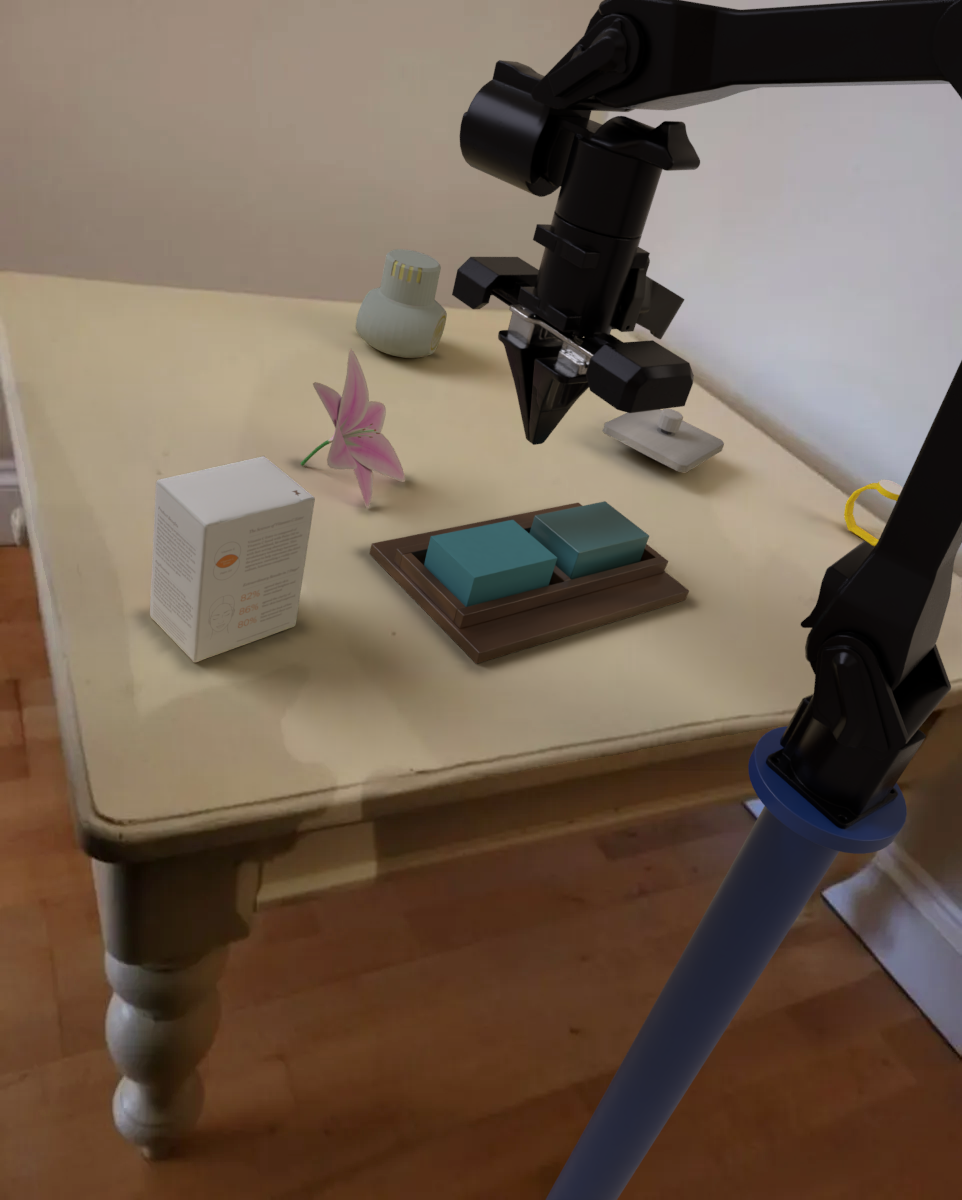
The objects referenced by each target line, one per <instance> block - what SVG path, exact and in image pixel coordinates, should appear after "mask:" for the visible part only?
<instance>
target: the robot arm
mask: <svg viewBox="0 0 962 1200" xmlns="http://www.w3.org/2000/svg"><path fill="white" fill-rule="evenodd" d="M902 85H903V86H906V85H908V86H909V85H913V86H914V85H950V86H951V87H952V89H954V91H955V92H956V93H957V95H958V96H959V97H960V99H961V100H962V0H866V1H865V0H864V1H863V0H862V1H849V2H835V3H819V4H806V5H795V6H794V5H791V6H775V7H761V8H760V7H759V8H747V9H738V8H731V7H725V6H720V5H712V4H707V3H701V2H696V1H695V2H694V1H688V0H602V1H601V2H600V3H599V6H598V9H597V10H596V12H595V13H594V14H593V16H592V17H591V18H590V19H589V22H588V25H587V26H586V30H585V32H584V34H583V36H582V37H581V38H580V39H579V40H578V41H577V42H576V43H575V44H574V45H573V46H572V47H571V48H570V49H569V50H568V51H567V52H566V54H564V55H563V57H562V58H561V59H560V60H559V61H558V62H557V63H556V64H555V65H554V66H553V67H552V68H550V70H549V71H548V72H546V74H545V75H543V74H540V73H538V72H537V71H536V70H534V69H533V67H530V66H529V65H526V64H524V63H521V62H518V61H514V60H513V61H512V60H503V59H502V60H501V59H498V60H497V61H496V62H495V65H494V71H493V76H492V79H491V80H489V81H487V82H486V83H485V84H483V85H482V86H481V88H480V89H479V90H478V91H477V92H476V93H475V95H474V96H473V98H472V100H471V102H470V104H469V106H468V108H467V111H464V113H463V115H462V117H461V122H460V127H459V148H460V151H461V154H462V158H463V160H464V161H465V163H467V165H469V166H470V167H471V168H473V169H476V170H477V171H480V172H482V173H484V174H487V175H489V176H490V177H493V178H496V179H498V180H500V181H502V182H505V183H507V184H509V185H511V186H512V187H513V186H514V187H516V188H518V189H520V190H522V191H524V192H526V193H529V194H531V195H533V196H536V197H539V198H543V197H546V196H549V195H551V194H553V193H554V192H556V191H557V190H559V192H558V197H557V200H556V204H555V208H554V212H553V216H552V219H551V223H550V224H548V223H547V224H545V223H543V224H542V223H537V224H536V226H535V230H534V234H533V237H532V241H534V242H536V243H537V244H539V245H540V246H542V247H544V250H543V253H542V257H541V261H540V265H539V268H536V267H535V266H533V265H532V264H530V263H529V262H527V261H526V260H523V259H522V258H520V257H518V256H470V257H468V259H467V260H465V261H464V262H463V264H461V265H460V266H459V267H458V268H457V270H456V275H455V278H454V284H453V288H452V291H451V292H452V293H451V296H453V297H454V298H456V299H457V300H459V301H460V302H461V303H463V304H465V305H466V306H467V307H469V308H470V309H471V310H481V309H483V308H484V307H485V306H487V305H489V304H490V299H491V296H493V297H495V298H497V300H500V301H501V302H502V303H504V304H505V305H506V306H508V307H509V308H508V310H509V312H511V315H510V319H509V323H508V327H507V329H501V330H499V331H498V334H497V339H498V341H499V342H501V343H502V344H503V347H504V350H505V354H506V357H507V361H508V365H509V369H510V372H511V376H512V380H513V383H514V388H515V392H516V397H517V402H518V406H519V407H518V408H519V411H520V417H521V422H522V427H523V430H524V436H525V439H526V441H528V442H529V443H530V444H532V445H533V446H535V445H542V444H544V443H545V441H547V439H548V438H549V436H550V435H551V434H552V433H553V431H554V430H555V429H556V427H557V426H558V425H559V423H560V422H561V421H562V420H563V418H564V417H565V416H566V415H567V413H568V412H569V410H570V409H571V408H572V407H573V406H574V405H575V404H576V401H577V400H578V399H580V397H581V396H583V394H584V393H585V392H587V390H589V391H590V392H591V393H593V394H594V395H596V397H598V398H599V399H601V400H603V401H604V402H606V403H607V404H608V405H610V406H611V407H613V408H614V409H616V410H617V411H621V412H624V413H636V412H643V411H651V410H659V409H660V410H663V409H674V408H680V407H685V405H686V403H687V400H688V398H689V395H690V393H691V390H692V388H693V384H694V379H695V378H694V377H695V375H694V371H693V369H692V366H691V364H690V362H689V361H687V360H686V359H684V358H683V357H680V356H679V355H678V354H675V352H673V351H671V350H669V349H668V348H666V347H664V346H663V345H661V344H659V343H658V342H657V341H654V340H653V339H652V340H639V341H637V340H636V341H622V340H621V339H619V338H618V337H616V336H614V335H613V334H611V333H612V330H617V331H619V332H620V333H629V332H635V329H636V325H639V326H640V327H642V328H644V329H645V330H648V331H649V333H650V335H652V336H653V337H654V338H656V339H658V340H662V339H663V337H664V336H665V334H666V332H667V330H668V329H669V327H670V325H671V323H672V322H673V320H674V319H675V317H676V315H677V313H678V312H679V310H680V309H681V307H682V305H683V303H684V301H685V298H684V297H682V296H681V295H679V294H677V293H675V292H674V291H672V290H671V289H669V288H667V287H666V286H664V285H663V284H661V283H659V282H657V281H656V280H654V279H652V278H651V277H649V276H648V275H647V272H648V269H649V266H650V263H651V260H650V259H651V258H650V254H651V252H649V251H647V250H646V249H644V248H641V247H640V246H639V245H640V243H641V239H642V236H643V234H644V229H645V226H646V224H647V220H648V216H649V214H650V211H651V207H652V204H653V201H654V198H655V194H656V191H657V188H658V185H659V182H660V179H661V175H662V172H663V171H667V172H669V171H671V172H672V171H694V170H697V169H698V168H699V167H700V165H701V160H700V159H701V158H700V156H699V154H698V153H697V151H696V149H695V147H694V145H693V144H692V142H691V141H690V138H689V136H688V132H687V125H686V123H685V122H684V121H678V120H677V121H676V120H675V121H674V120H664V121H662V122H661V123H660V124H659V125H657V126H656V127H655V126H654V127H653V126H651V125H649V124H646V123H643V122H641V121H639V120H635V119H634V118H631V117H628V116H626V115H617V116H613V117H612V118H610V119H608V120H606V121H604V123H599V122H597V121H595V120H591V118H590V117H591V115H592V112H615V113H629V112H632V111H634V110H645V111H646V110H648V111H676V110H680V109H685V108H688V107H693V106H698V105H702V104H707V103H712V102H715V101H719V100H722V99H726V98H728V97H731V96H734V95H736V94H739V93H743V92H748V91H752V90H757V89H761V88H762V89H763V88H803V87H804V88H805V87H808V88H809V87H848V86H849V87H856V86H858V87H859V86H861V87H862V86H902ZM559 188H560V189H559ZM902 487H903V489H902V491H901V493H900V495H899V497H898V499H897V502H896V501H895V503H894V507H893V508H892V510H891V513H890V515H889V516H888V519H887V521H886V523H885V526H884V527H883V529H882V532H881V534H880V537H879V538H878V539H879V541H878V543H877V544H876V546H872V545H871V544H870V543H868V542H867V541H865V540H863V541H862V542H861V543H859V544H858V545H857V546H855V547H854V548H852V549H851V550H850V551H848V552H847V553H846V554H844V555H843V556H842V557H840V558H839V559H838V560H837V561H835V562H834V563H832V564H831V565H830V566H828V567H827V568H826V569H825V572H824V575H823V578H822V580H821V583H820V588H819V593H818V597H817V601H816V603H815V606H814V608H813V609H812V611H811V612H810V614H809V615H808V616H807V617H805V618H804V619H803V620H802V621H801V622H800V627H801V628H803V629H810V631H809V632H808V635H807V636H806V641H805V646H804V653H805V655H804V656H805V660H806V661H807V662H808V663H809V665H810V667H811V669H812V672H813V674H814V685H813V687H814V688H813V693H811V694H809V695H807V696H805V697H803V698H802V699H801V701H800V703H799V704H798V706H797V708H796V710H795V712H794V714H793V715H792V717H791V719H790V721H789V722H788V724H787V726H788V727H787V728H786V730H785V732H784V734H783V736H782V738H781V739H780V745H781V746H782V747H783V749H781V750H779V751H776V752H774V753H772V754H770V755H769V756H768V757H767V759H766V764H767V766H768V767H769V768H771V769H772V770H773V771H774V772H775V773H776V774H777V775H779V776H780V777H781V778H782V779H783V780H784V781H785V782H786V783H788V784H789V785H790V786H791V787H792V788H793V789H794V790H796V791H797V792H798V793H799V794H800V795H801V796H802V797H803V798H805V799H806V800H807V801H808V802H809V803H810V804H811V805H813V806H814V807H815V808H816V809H817V810H818V811H819V812H820V813H822V814H823V815H824V816H825V817H826V818H827V819H828V820H830V821H831V822H832V823H833V824H834V825H835V826H837V827H838V828H840V829H847V828H849V827H850V826H852V825H854V824H855V823H857V822H859V821H860V820H862V819H864V818H865V817H867V816H869V815H870V814H872V813H874V812H875V811H877V810H879V809H880V808H882V807H884V806H886V805H887V804H889V803H891V802H892V801H894V800H895V799H896V797H897V796H898V792H897V790H896V789H895V788H894V785H895V784H896V783H897V782H898V781H899V780H900V778H901V777H902V775H903V773H904V772H905V770H906V769H907V767H908V766H909V764H910V763H911V761H912V760H913V757H914V756H915V754H916V753H917V751H918V750H919V748H920V747H921V746H922V743H923V742H924V741H925V739H926V738H927V735H926V733H925V732H923V731H922V730H921V729H920V728H921V727H922V726H923V724H924V723H925V722H926V720H927V719H928V718H929V717H930V715H931V714H932V713H933V712H934V711H935V709H936V708H937V707H939V704H940V703H941V702H942V701H943V700H944V698H946V696H947V695H948V693H949V692H950V691H951V690H952V685H951V681H950V679H949V676H948V673H947V670H946V668H945V665H944V663H943V659H942V657H941V654H940V652H939V649H938V646H937V644H936V643H937V642H938V638H939V636H940V632H941V629H942V627H943V623H944V618H945V615H946V611H947V608H948V606H949V605H948V604H949V601H950V599H951V598H950V597H951V591H952V583H953V574H954V567H955V566H954V565H955V560H956V557H957V553H958V551H959V549H960V547H961V545H962V359H961V360H960V363H959V365H958V366H957V369H956V371H955V373H954V376H953V378H952V380H951V382H950V384H949V386H948V388H947V390H946V393H945V395H944V398H943V399H942V402H941V403H940V406H939V408H938V410H937V413H936V415H935V417H934V419H933V422H932V424H931V426H930V427H929V430H928V432H927V435H926V437H925V438H924V441H923V443H922V445H921V448H920V449H919V452H918V454H917V456H916V458H915V461H914V463H913V465H912V467H911V469H910V471H909V472H908V476H907V478H906V480H905V482H904V485H903V486H902Z"/></svg>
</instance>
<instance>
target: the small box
mask: <svg viewBox="0 0 962 1200" xmlns="http://www.w3.org/2000/svg"><path fill="white" fill-rule="evenodd" d="M315 501H316V498H315V496H314V495H313V494H311V493H310V492H309V491H307V490H306V488H304V487H303V486H302V485H301V484H299V483H298V482H297V481H295V480H294V478H292V477H291V476H290V475H288V474H287V473H286V472H285V471H283V470H282V469H281V468H280V467H279V466H277V465H276V464H275V463H274V462H272V461H271V460H270V459H268V458H267V457H266V456H265V455H262V456H258V457H254V458H249V459H245V460H240V461H236V462H231V463H227V464H223V465H218V466H213V467H209V468H205V469H200V470H196V471H191V472H186V473H182V474H178V475H177V474H176V475H172V476H168V477H163V478H159V479H157V480H156V482H155V495H154V515H153V516H154V517H153V518H154V519H153V522H154V523H153V535H152V554H151V555H152V556H151V557H152V559H151V578H150V579H151V580H150V601H149V617H150V619H152V620H153V621H154V622H155V623H156V624H157V625H158V626H159V627H160V628H161V629H162V630H163V631H164V633H165V634H166V635H167V636H168V637H169V638H170V639H171V640H172V641H173V642H174V643H175V644H176V646H178V647H179V648H180V650H182V652H184V654H186V656H187V657H188V658H189V659H190V660H191V661H192V662H193V663H199V662H201V661H204V660H206V659H209V658H211V657H214V656H217V655H219V654H223V653H226V652H228V651H231V650H234V649H237V648H239V647H242V646H244V645H247V644H250V643H253V642H256V641H259V640H261V639H264V638H267V637H270V636H272V635H275V634H277V633H280V632H283V631H286V630H288V629H291V628H294V627H295V626H296V625H297V620H298V619H297V618H298V614H299V613H298V612H299V605H300V599H301V591H302V586H303V580H304V573H305V567H306V560H307V552H308V548H309V547H308V546H309V540H310V533H311V528H312V521H313V514H314V508H315Z"/></svg>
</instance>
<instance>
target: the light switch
mask: <svg viewBox="0 0 962 1200" xmlns="http://www.w3.org/2000/svg"><path fill="white" fill-rule="evenodd" d="M683 419H684V416H683V414H682V413H680V412H679V411H678V410H675V409H674V408H666V409H659V410H651V411H643V412H636V413H627V412H624V413H623V414H621V415H619V416H617V417H614V418H613V419H611V420H608V421H606V422H604V424H603V428H602V432H603V433H604V434H605V435H607V436H609V437H611V438H612V439H614V440H616V441H618V442H620V443H622V444H624V445H626V446H628V447H629V448H631V449H633V450H636V452H637V453H639V454H641V455H643V456H645V457H647V458H649V459H651V460H653V461H655V462H657V463H659V464H660V465H663V466H665V467H666V468H668V469H672V470H674V471H675V472H678V473H687V472H689V471H691V470H692V469H695V468H696V467H697V466H699V465H702V464H703V463H704V462H706V461H708V460H709V459H711V458H713V457H714V456H716V455H718V454H719V453H721V452H722V451H723V448H724V446H725V442H724V441H723V440H722V438H719V437H717V436H715V435H713V434H711V433H709V432H707V431H705V430H703V429H701V428H699V427H697V426H695V425H693V424H692V423H689V422H686V420H683Z"/></svg>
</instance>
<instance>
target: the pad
mask: <svg viewBox="0 0 962 1200" xmlns="http://www.w3.org/2000/svg"><path fill="white" fill-rule="evenodd" d="M556 561H557V557H556V556H555V555H554V554H552V553H551V552H550V551H549V550H548V549H547V548H545V547H544V546H543V545H542V544H541V543H540V542H538V541H537V540H536V539H535V538H534V537H533V536H531V535H530V534H529V533H528V532H527V531H526V530H524V529H523V528H522V527H521V526H520V525H519V524H517V523H516V522H515V521H514V520H509V521H504V522H499V523H494V524H489V525H484V526H479V527H474V528H470V529H465V530H460V531H455V532H450V533H445V534H440V535H435V536H431V538H430V542H429V546H428V550H427V554H426V559H425V563H424V566H425V567H426V568H427V569H428V570H429V571H430V572H431V573H432V574H433V575H434V576H435V577H436V578H437V579H438V580H439V581H440V582H441V583H442V584H443V585H444V586H445V587H446V588H447V589H448V590H449V591H450V592H451V593H452V594H453V595H454V596H455V597H456V598H457V599H458V600H459V601H461V602H462V603H463V604H464V605H465V607H468V606H472V605H476V604H480V603H484V602H487V601H491V600H495V599H499V598H503V597H507V596H510V595H514V594H518V593H522V592H526V591H530V590H534V589H537V588H541V587H545V586H548V585H549V582H550V579H551V576H552V573H553V570H554V567H555V564H556Z"/></svg>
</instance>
